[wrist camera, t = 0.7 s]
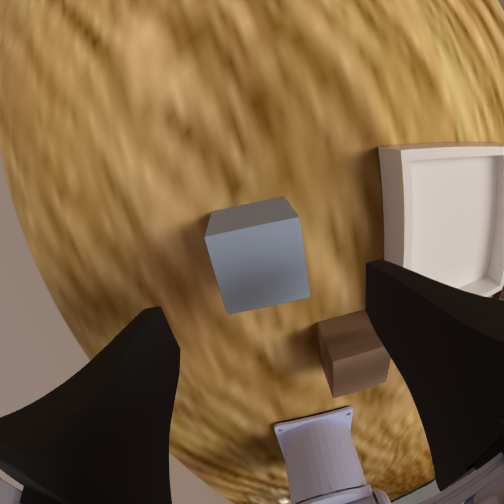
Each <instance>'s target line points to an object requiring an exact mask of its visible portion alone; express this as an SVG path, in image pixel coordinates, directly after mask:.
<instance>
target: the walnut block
mask: <svg viewBox="0 0 504 504" xmlns="http://www.w3.org/2000/svg"><path fill="white" fill-rule="evenodd" d="M365 310H366V309H365ZM365 310H362V311H358V312H354V313H351V314H347V315H343V316H340V317H336V318H332V319H328V320H324V321H320V322H317V324H318V336H319V350H320V361H321V364H322V367H323V370H324V373H325V375H326V378H327V381H328V384H329V387H330V390H331V393H332V396H333V398H336V397H339V396H343V395H346V394H350V393H353V392H356V391H359V390H363V389H366V388H369V387H372V386H375V385H377V384H380V383H383V382H386V379H387V374H388V369H389V364H390V359H391V357H390V355H389V354H388V352H387V350H386V349H385V347H384V345H383V344H382V342H381V341H380V339H379V337H378V336H377V334H376V332H375V330H374V328H373V326H372V324H371V322H370V320H369V317H368V315H367V313H366V311H365Z"/></svg>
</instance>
